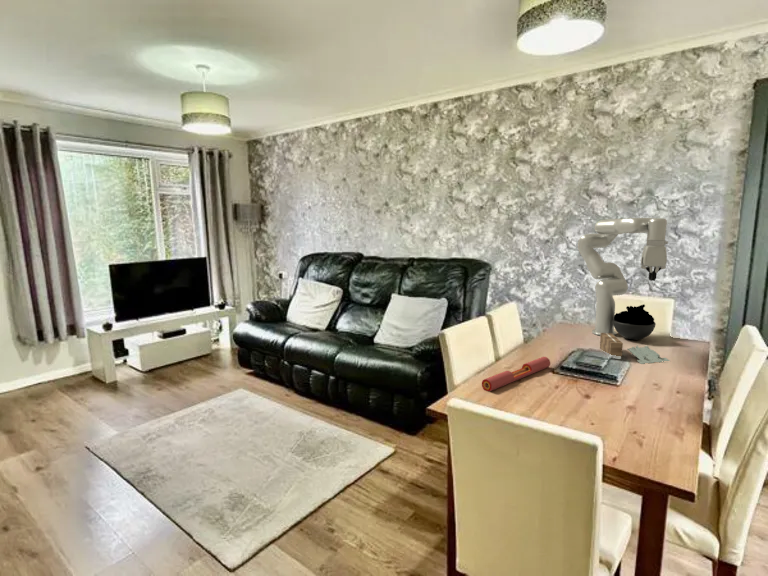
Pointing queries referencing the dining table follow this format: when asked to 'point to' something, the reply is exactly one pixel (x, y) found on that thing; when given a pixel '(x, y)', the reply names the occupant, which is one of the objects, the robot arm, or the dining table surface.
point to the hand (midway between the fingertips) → (652, 280)
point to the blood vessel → (515, 374)
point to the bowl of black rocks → (634, 323)
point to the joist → (611, 344)
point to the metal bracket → (646, 355)
